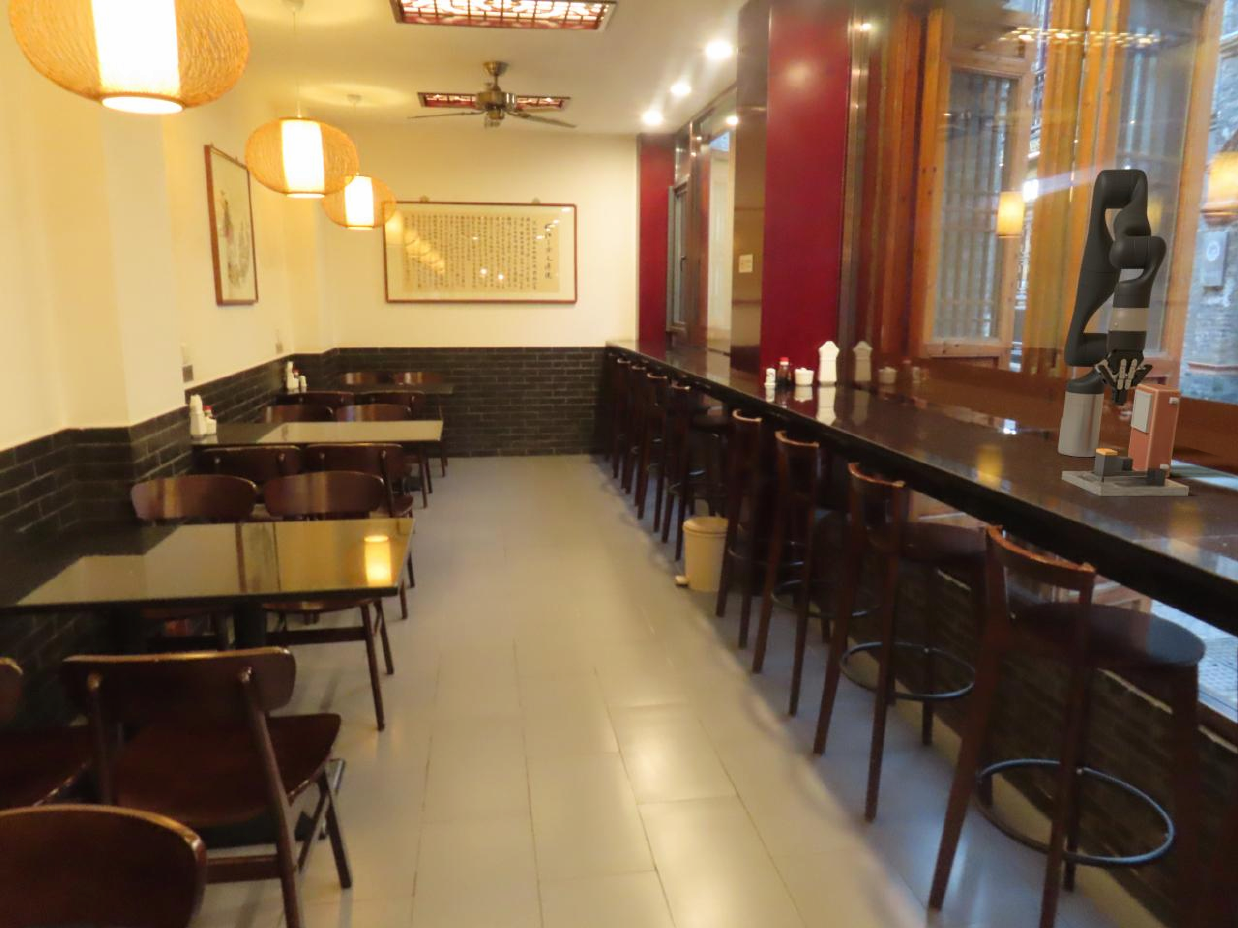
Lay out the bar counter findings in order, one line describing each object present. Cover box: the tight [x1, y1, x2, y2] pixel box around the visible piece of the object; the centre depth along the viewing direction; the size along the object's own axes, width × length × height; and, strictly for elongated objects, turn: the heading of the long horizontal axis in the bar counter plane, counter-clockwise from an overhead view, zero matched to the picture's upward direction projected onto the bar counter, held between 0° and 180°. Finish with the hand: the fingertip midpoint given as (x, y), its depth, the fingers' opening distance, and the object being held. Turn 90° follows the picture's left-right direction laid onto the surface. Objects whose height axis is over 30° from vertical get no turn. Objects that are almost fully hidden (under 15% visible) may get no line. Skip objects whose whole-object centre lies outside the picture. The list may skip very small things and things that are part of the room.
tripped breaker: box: [1093, 448, 1118, 477], centre depth 196 cm, size 4×3×6 cm
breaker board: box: [1061, 456, 1190, 497], centre depth 197 cm, size 16×20×6 cm
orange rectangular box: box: [1127, 383, 1182, 478], centre depth 211 cm, size 21×7×15 cm
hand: (1117, 405), depth 192 cm, fingers closed
